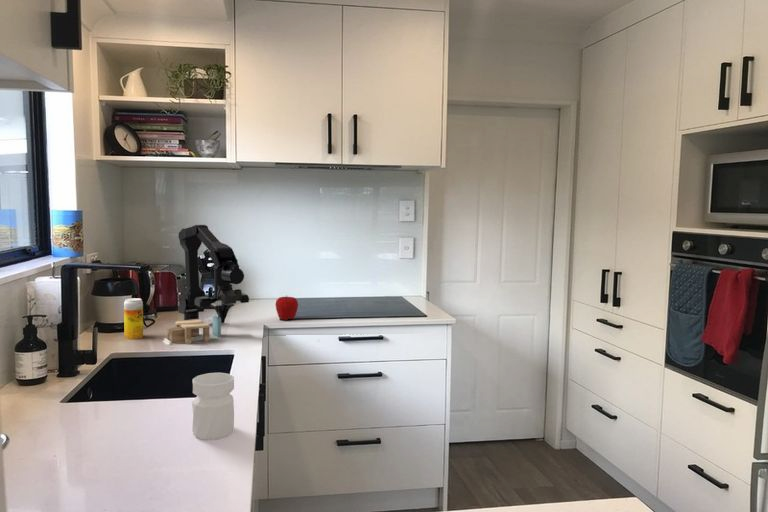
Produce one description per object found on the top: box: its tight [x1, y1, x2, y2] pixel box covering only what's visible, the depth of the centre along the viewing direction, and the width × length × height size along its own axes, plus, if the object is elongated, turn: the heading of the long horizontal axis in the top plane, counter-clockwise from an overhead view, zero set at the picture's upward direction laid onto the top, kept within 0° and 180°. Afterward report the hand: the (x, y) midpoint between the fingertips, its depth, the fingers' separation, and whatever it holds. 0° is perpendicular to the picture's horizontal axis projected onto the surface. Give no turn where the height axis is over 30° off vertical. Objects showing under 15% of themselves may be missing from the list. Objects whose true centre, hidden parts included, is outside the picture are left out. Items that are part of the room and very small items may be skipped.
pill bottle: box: [191, 372, 235, 441], centre depth 117 cm, size 9×9×12 cm
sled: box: [161, 315, 222, 346], centre depth 191 cm, size 6×19×8 cm, turn 129°
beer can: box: [123, 297, 144, 340], centre depth 191 cm, size 6×6×15 cm
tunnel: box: [174, 318, 210, 345], centre depth 191 cm, size 12×8×7 cm
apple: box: [275, 295, 299, 321], centre depth 233 cm, size 10×10×11 cm
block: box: [166, 327, 185, 344], centre depth 187 cm, size 4×4×4 cm
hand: (222, 322), depth 197 cm, fingers closed
